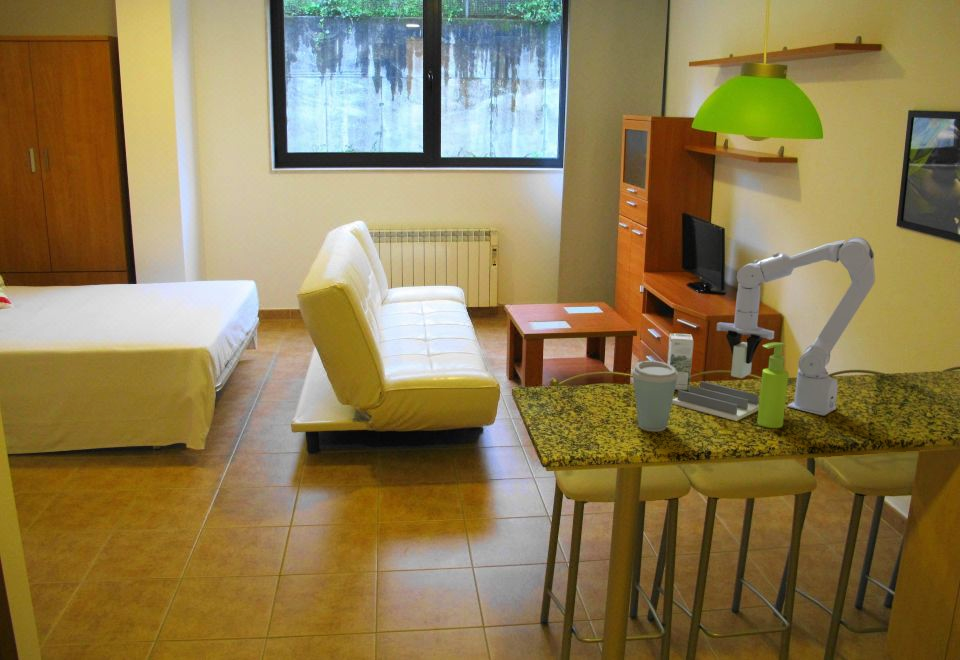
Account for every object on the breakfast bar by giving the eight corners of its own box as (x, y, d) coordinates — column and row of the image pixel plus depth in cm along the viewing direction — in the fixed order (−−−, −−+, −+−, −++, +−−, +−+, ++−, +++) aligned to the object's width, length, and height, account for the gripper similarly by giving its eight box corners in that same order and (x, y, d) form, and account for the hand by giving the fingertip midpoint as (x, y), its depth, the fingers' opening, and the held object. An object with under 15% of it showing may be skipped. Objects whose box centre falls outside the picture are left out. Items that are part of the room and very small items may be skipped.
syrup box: (686, 385, 244) (691, 333, 240) (689, 391, 238) (693, 338, 235) (665, 383, 244) (669, 332, 241) (667, 390, 239) (671, 337, 235)
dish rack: (762, 408, 226) (764, 394, 225) (736, 421, 216) (738, 407, 215) (699, 391, 238) (700, 379, 237) (671, 403, 228) (672, 390, 227)
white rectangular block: (739, 371, 237) (742, 341, 235) (750, 373, 235) (753, 343, 234) (730, 375, 233) (733, 346, 231) (742, 378, 231) (745, 348, 229)
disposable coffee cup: (684, 430, 209) (689, 368, 205) (649, 438, 203) (654, 375, 200) (652, 417, 217) (657, 357, 214) (618, 424, 212) (622, 363, 208)
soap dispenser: (748, 421, 216) (756, 341, 211) (771, 418, 219) (779, 339, 214) (764, 429, 211) (773, 347, 206) (788, 426, 213) (797, 345, 209)
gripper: (713, 308, 231) (709, 359, 234) (769, 317, 223) (763, 370, 226) (724, 304, 236) (720, 354, 240) (779, 312, 228) (773, 364, 231)
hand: (741, 361), depth 233 cm, fingers closed on white rectangular block, 3 cm apart
